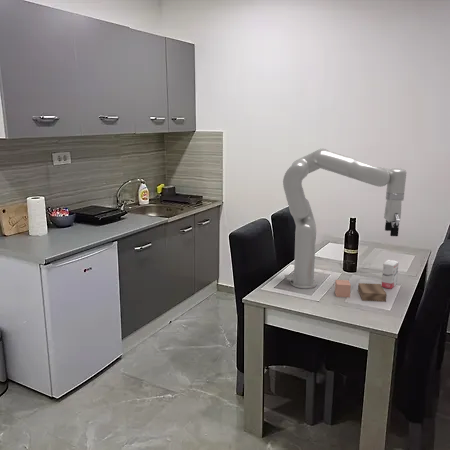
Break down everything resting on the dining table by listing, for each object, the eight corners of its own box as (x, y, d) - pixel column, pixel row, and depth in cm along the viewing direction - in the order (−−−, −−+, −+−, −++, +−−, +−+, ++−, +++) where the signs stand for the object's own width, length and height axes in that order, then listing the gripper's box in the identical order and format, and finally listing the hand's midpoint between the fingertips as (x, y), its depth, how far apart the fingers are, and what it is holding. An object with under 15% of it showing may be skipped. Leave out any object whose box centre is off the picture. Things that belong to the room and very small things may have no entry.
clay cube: (336, 296, 201) (337, 284, 199) (334, 291, 206) (335, 279, 205) (349, 297, 200) (350, 285, 199) (347, 292, 206) (348, 280, 204)
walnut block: (362, 301, 197) (363, 292, 196) (357, 291, 208) (358, 283, 207) (385, 302, 195) (386, 293, 194) (379, 292, 207) (380, 284, 206)
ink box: (391, 289, 209) (393, 265, 206) (380, 287, 212) (382, 263, 209) (397, 284, 216) (399, 261, 213) (386, 281, 219) (389, 259, 216)
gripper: (381, 193, 207) (378, 228, 211) (391, 199, 190) (387, 238, 194) (398, 193, 206) (394, 228, 210) (409, 200, 189) (405, 238, 194)
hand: (391, 233), depth 202 cm, fingers open, 9 cm apart
